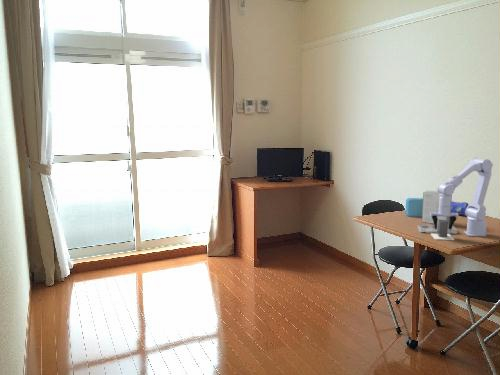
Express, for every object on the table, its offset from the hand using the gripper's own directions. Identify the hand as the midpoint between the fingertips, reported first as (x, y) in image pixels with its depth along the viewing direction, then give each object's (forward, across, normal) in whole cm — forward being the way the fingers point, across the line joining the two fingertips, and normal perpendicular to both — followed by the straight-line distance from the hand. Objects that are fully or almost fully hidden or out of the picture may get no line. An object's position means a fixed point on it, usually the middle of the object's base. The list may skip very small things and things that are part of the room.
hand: (442, 228), depth 233 cm
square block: (+4, 0, 0) cm, 4 cm away
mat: (+5, 0, 0) cm, 5 cm away
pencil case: (+5, -21, -57) cm, 61 cm away
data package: (+5, +5, -48) cm, 49 cm away
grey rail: (+5, 0, -12) cm, 13 cm away
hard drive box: (+5, -4, -31) cm, 32 cm away
